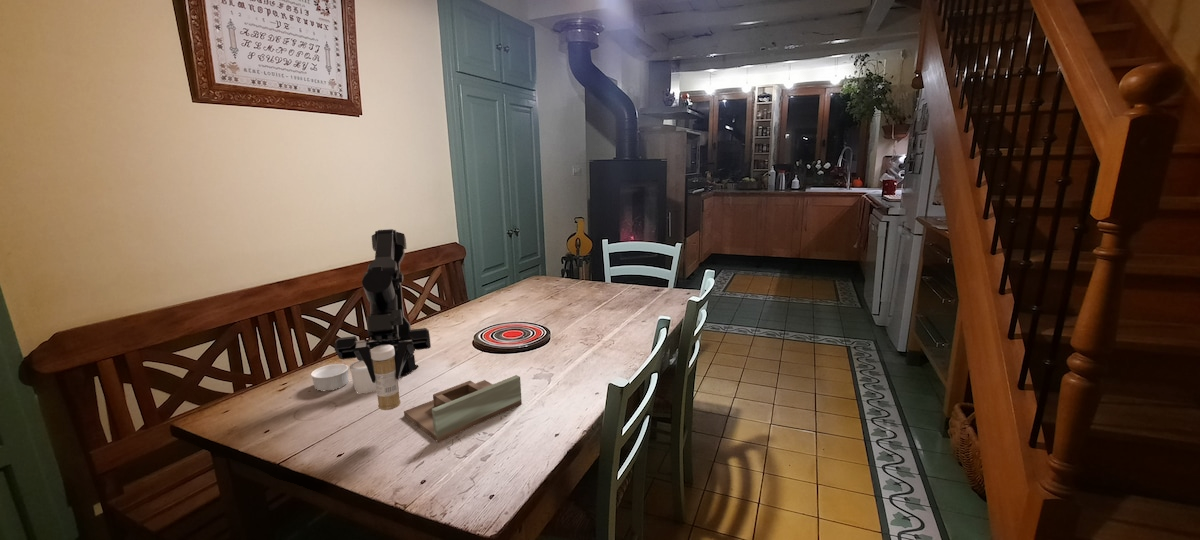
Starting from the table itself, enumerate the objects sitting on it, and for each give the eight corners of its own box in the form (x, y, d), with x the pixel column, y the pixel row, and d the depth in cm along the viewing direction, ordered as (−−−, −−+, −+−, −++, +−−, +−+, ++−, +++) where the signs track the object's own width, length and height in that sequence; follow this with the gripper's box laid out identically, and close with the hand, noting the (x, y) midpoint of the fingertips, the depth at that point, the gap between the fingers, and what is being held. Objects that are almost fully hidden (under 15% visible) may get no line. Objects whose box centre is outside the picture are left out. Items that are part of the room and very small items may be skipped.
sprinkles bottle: (399, 398, 108) (393, 342, 105) (401, 408, 104) (394, 349, 101) (377, 403, 106) (370, 346, 103) (378, 413, 102) (370, 353, 99)
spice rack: (404, 415, 114) (401, 387, 112) (484, 384, 130) (482, 358, 128) (438, 442, 103) (435, 411, 102) (521, 404, 119) (520, 376, 117)
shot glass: (387, 384, 130) (384, 360, 129) (367, 396, 124) (364, 371, 122) (367, 381, 132) (363, 357, 131) (346, 392, 126) (343, 367, 124)
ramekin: (308, 385, 130) (305, 370, 130) (343, 375, 137) (341, 360, 136) (319, 396, 125) (317, 380, 124) (355, 384, 131) (353, 369, 130)
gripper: (329, 302, 101) (326, 373, 93) (425, 293, 106) (429, 359, 99) (341, 325, 110) (339, 392, 102) (428, 316, 116) (433, 378, 108)
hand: (385, 380), depth 103 cm, fingers closed on sprinkles bottle, 4 cm apart
